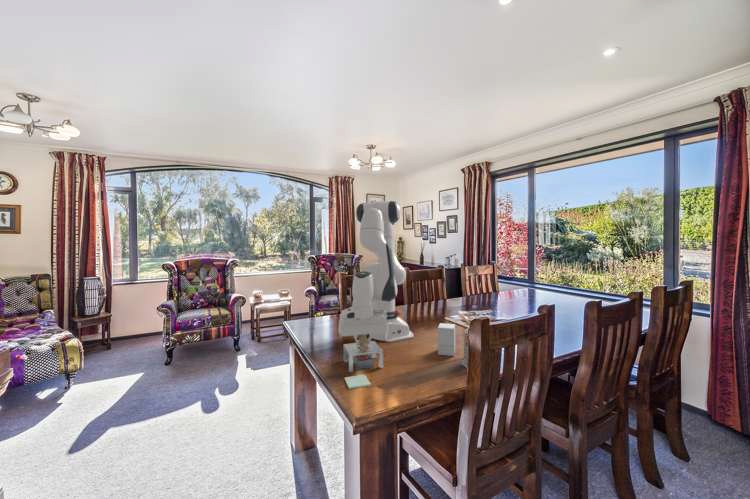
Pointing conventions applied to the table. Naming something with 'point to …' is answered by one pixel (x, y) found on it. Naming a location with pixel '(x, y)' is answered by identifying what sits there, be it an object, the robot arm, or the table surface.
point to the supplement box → (446, 339)
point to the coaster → (357, 381)
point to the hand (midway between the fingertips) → (363, 344)
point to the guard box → (354, 353)
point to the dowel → (363, 344)
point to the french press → (466, 346)
